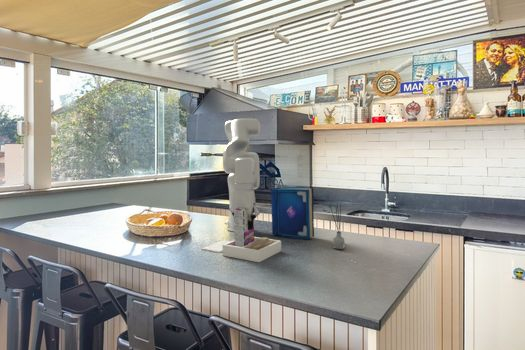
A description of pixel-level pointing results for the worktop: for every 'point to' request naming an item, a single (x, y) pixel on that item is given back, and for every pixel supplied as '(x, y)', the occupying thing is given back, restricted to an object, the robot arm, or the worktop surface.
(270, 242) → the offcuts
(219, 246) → the mat
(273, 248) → the box
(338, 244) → the reed diffuser
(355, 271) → the worktop surface
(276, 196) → the book
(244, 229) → the candy bar box
